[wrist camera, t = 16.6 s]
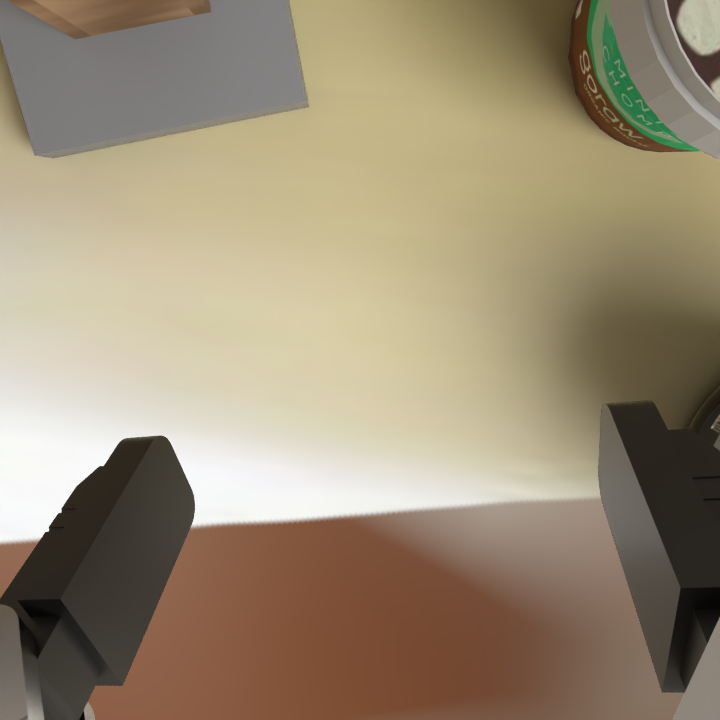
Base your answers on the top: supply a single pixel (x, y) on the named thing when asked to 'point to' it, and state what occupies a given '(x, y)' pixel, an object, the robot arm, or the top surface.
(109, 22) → the walnut sleeve
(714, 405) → the supplement container
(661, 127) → the food container
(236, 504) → the top surface
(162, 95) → the post base
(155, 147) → the top surface
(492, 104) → the top surface
